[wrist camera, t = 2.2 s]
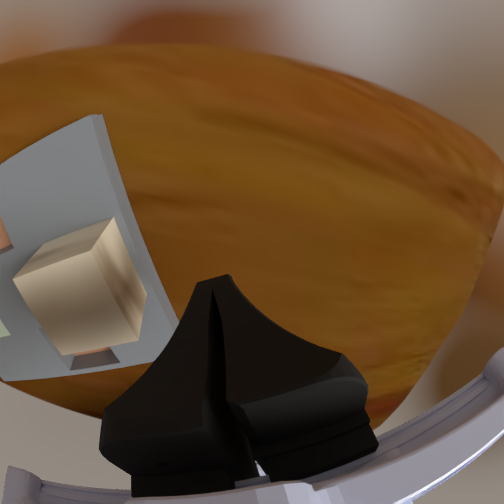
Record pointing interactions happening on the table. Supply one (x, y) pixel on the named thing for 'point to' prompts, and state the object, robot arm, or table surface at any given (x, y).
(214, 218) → the table surface
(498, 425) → the robot arm
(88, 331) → the beech block
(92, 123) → the board
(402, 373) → the table surface
